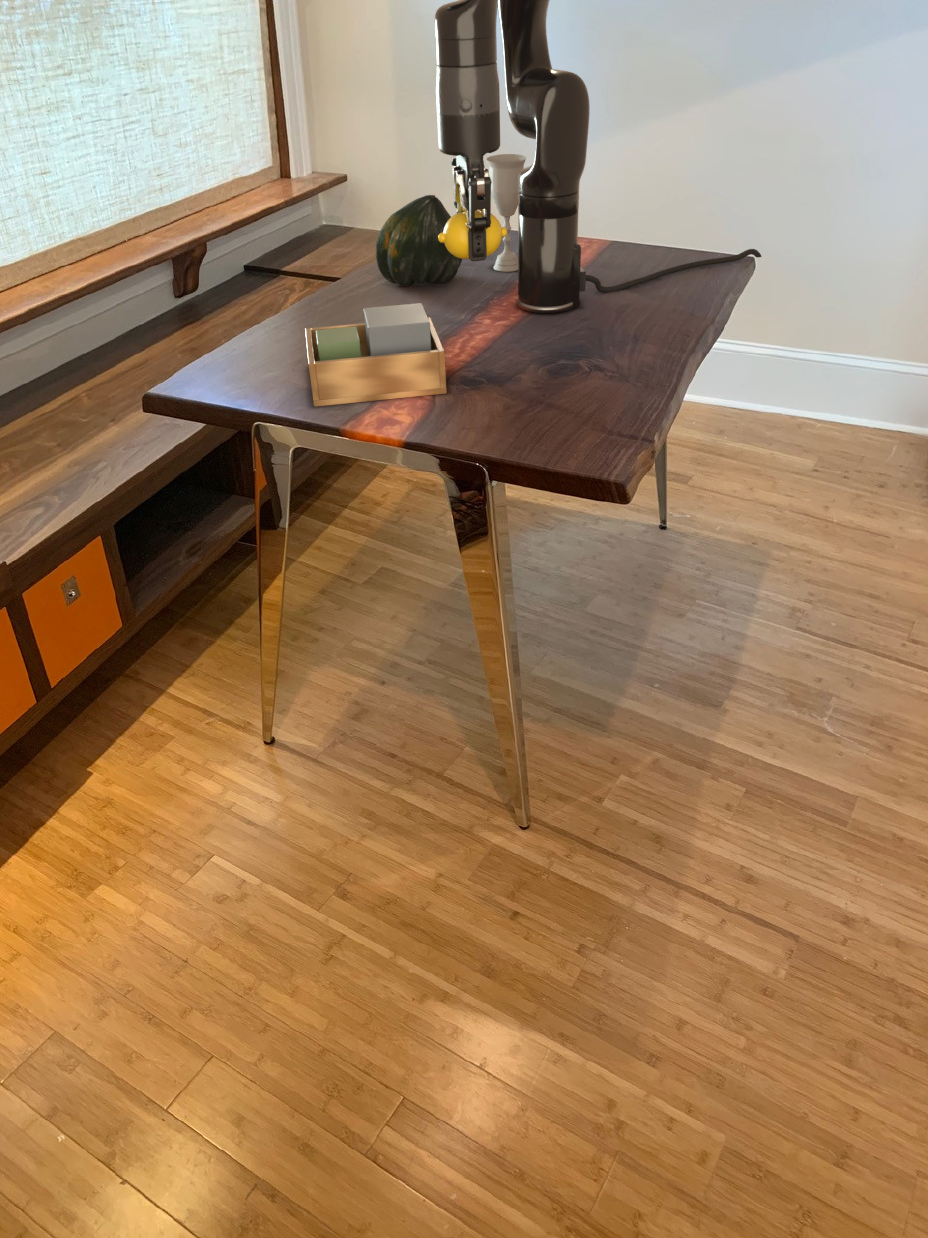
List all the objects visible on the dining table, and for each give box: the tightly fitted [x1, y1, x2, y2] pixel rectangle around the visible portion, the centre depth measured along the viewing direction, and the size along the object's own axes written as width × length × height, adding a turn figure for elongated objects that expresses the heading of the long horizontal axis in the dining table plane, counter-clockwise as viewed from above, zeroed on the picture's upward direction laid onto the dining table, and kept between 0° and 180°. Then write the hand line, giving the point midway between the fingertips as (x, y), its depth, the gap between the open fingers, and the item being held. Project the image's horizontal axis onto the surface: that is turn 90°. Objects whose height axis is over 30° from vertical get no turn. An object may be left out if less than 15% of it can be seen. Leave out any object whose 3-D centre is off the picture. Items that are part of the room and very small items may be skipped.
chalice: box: [486, 153, 527, 273], centre depth 166 cm, size 7×7×18 cm
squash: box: [375, 194, 463, 287], centre depth 162 cm, size 14×15×15 cm
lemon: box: [438, 210, 507, 260], centre depth 121 cm, size 9×6×6 cm, turn 100°
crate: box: [304, 316, 447, 408], centre depth 129 cm, size 18×14×6 cm
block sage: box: [316, 327, 361, 361], centre depth 128 cm, size 6×6×6 cm
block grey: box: [363, 302, 431, 356], centre depth 128 cm, size 8×8×8 cm
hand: (473, 252), depth 123 cm, fingers closed on lemon, 5 cm apart
